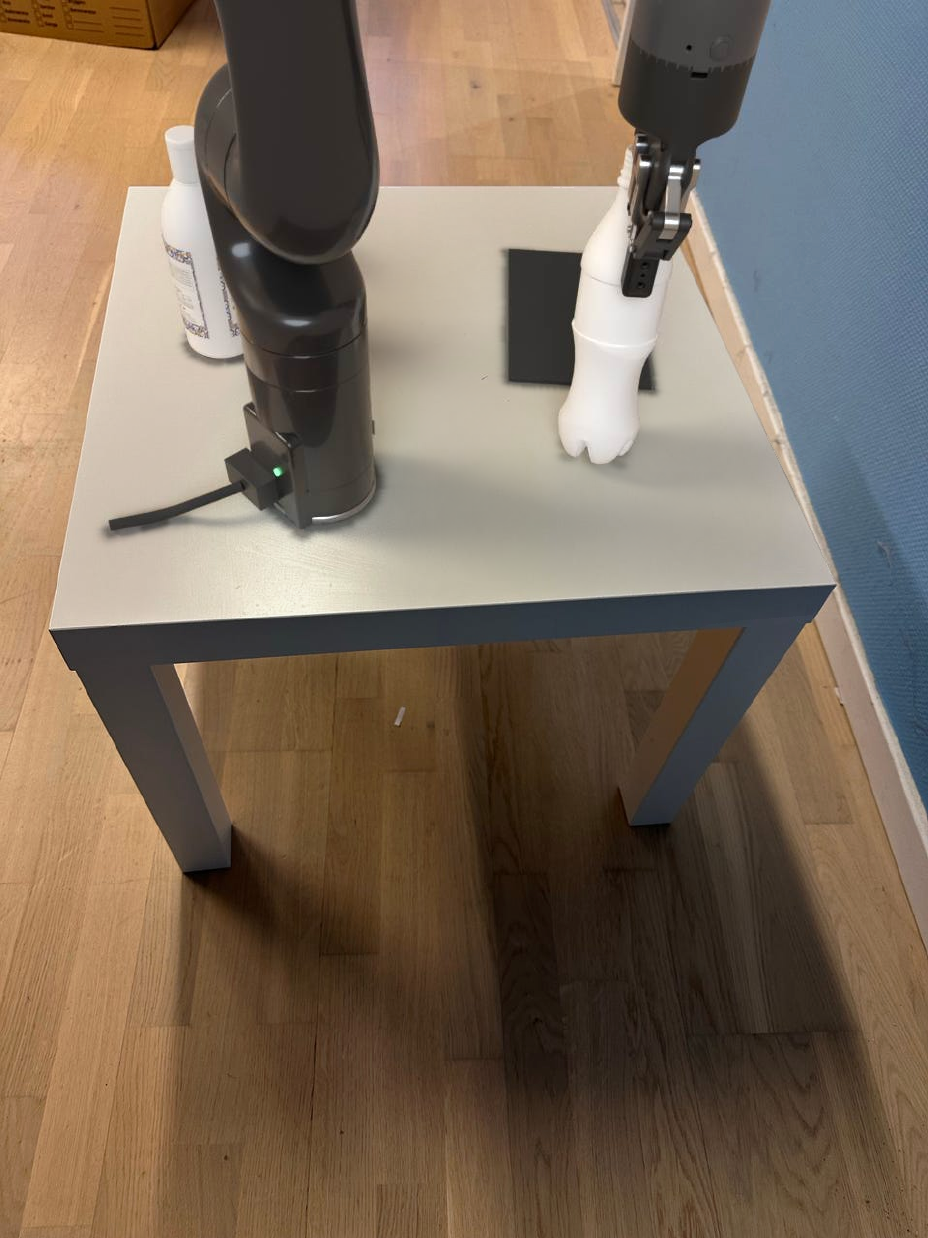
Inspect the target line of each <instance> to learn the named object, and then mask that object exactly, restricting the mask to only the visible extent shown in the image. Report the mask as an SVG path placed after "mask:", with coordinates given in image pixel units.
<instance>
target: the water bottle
mask: <svg viewBox="0 0 928 1238" xmlns="http://www.w3.org/2000/svg"><path fill="white" fill-rule="evenodd" d="M632 149H633V144H630V145H627V147H626V150H625V154H624V160H623V167H622V168H621V170H620V174H621V175H619V176H618V177H617V180H616V183H617V185H618V186H619V187H618V190H617V194H616V197H615V198H614V201H613V203H612V205H611V206H610V208H609V209H608V211H607V212H606V214H605V215H604V217H603V218H602V219H601V221H600V222H599V223H598V225H597V226H596V228H595V230H593V233H592V234H591V236H590V237H589V239H588V241H587V243H586V245H585V247H584V249H583V251H582V253H583V255H582V259H581V275H580V282H579V289H578V296H577V303H576V310H575V317H574V319H573V321H572V327H573V333H574V341H575V369H574V376H573V380H572V385H570V389H569V391H568V394H567V397H566V400H565V401H564V403H563V405H562V406H561V408H560V410H559V412H558V417H557V423H558V426H557V427H558V435H559V438H560V443H561V445H562V447H563V449H564V450H565V452H566V453H567V454H568V455H569V456H571V457H573V458H577V457H579V456H580V455H581V454H582V453H583V452H584V451H585V449H587V451H588V452H587V453H588V456H589V459H590V462H591V463H592V464H595V465H607V464H610V463H611V462H613V460H615V459H616V458H617V456H618V457H619V456H624V455H625V454H626V453H627V452H628V451H629V450H630V449H631V448H632V446H633V444H634V442H635V440H636V438H637V435H638V433H639V429H640V424H641V422H640V416H639V415H640V414H639V405H638V403H639V401H638V395H639V389H638V385H639V378H640V374H641V370H642V367H643V365H644V362H645V360H646V358H647V357H648V358H649V355H650V354H651V352H652V351H653V350H654V348H655V347H656V345H657V343H658V340H659V336H660V331H659V329H660V323H661V319H662V315H663V311H664V310H663V309H664V305H665V301H666V296H667V292H668V288H669V287H668V285H669V282H670V279H671V278H672V275H673V267H674V266H673V265H674V263H673V262H674V259H673V258H674V256H673V257H672V258H671V259H670V261H662V260H660V262H659V266H658V270H657V274H656V278H655V282H654V286H653V290H652V294H651V295H650V296H649V297H647V298H635V297H625V296H624V295H623V294H622V288H621V275H622V271H623V266H624V261H625V257H626V252H627V247H628V243H629V238H628V233H627V226H628V225H629V222H630V217H631V216H628V210H627V204H628V203H629V199H628V190H629V185H630V180H631V175H632V165H633V156H632Z"/></svg>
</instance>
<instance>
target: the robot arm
mask: <svg viewBox="0 0 928 1238" xmlns="http://www.w3.org/2000/svg"><path fill="white" fill-rule="evenodd" d="M213 3H214V5H215V10H216V13H217V18H218V21H219V25H220V29H221V34H222V39H223V44H224V50H225V54H226V62H225V63H224V64H223V65H221V66H220V67H219V68H218V69H217V70H216V71H215V72H214V73H213V75H211V77H210V79H209V80H208V81H207V83H206V84H205V87H204V89H203V90H202V93H201V95H200V96H199V100H198V103H197V106H196V111H195V116H194V122H193V127H194V149H195V157H196V163H197V169H198V175H199V180H200V184H201V189H202V194H203V198H204V203H205V207H206V212H207V216H208V221H209V225H210V229H211V234H212V238H213V243H214V247H215V252H216V256H217V260H218V264H219V267H220V270H221V273H222V276H223V279H224V281H225V284H226V286H227V289H228V291H229V293H230V296H231V299H232V301H233V304H234V308H235V312H236V317H237V322H238V327H239V333H240V338H241V343H242V349H243V354H242V355H243V360H244V365H245V371H246V376H247V382H248V387H249V393H250V397H251V401H249V402H247V403H245V404H244V405H243V406H242V412H243V417H244V423H245V429H246V432H247V437H248V442H249V448H250V449H249V448H248V447H247V446H245V447H244V448H242V449H241V450H239V451H237V452H235V453H233V454H231V455H230V456H228V457H226V458H224V460H223V461H224V465H225V470H226V473H227V478H228V482H229V483H230V484H228V485H224V486H222V487H220V488H216V489H215V490H211V491H209V492H207V493H204V494H201V495H198V496H196V497H193V498H191V499H188V500H185V501H182V502H180V503H177V504H174V505H172V506H167V507H164V508H161V509H156V510H153V511H148V512H142V513H139V514H138V513H137V514H133V515H128V516H122V517H118V518H113V519H108V526H109V528H110V531H116V530H121V529H122V530H123V529H128V528H131V527H136V526H142V525H147V524H152V523H156V522H160V521H163V520H168V519H172V518H174V517H178V516H181V515H184V514H187V513H189V512H191V511H194V510H197V509H200V508H202V507H205V506H207V505H210V504H213V503H216V502H218V501H220V500H223V499H226V498H228V497H231V496H233V495H236V494H239V493H241V494H242V495H243V497H245V498H246V499H247V500H248V501H249V502H251V504H252V505H253V506H255V508H257V509H258V511H260V512H262V511H264V510H265V509H267V508H269V507H271V506H272V505H273V506H274V507H275V508H276V509H277V510H278V511H279V512H281V513H282V514H283V515H284V516H286V517H287V518H288V519H289V520H290V521H291V522H292V523H293V524H294V525H295V526H296V527H297V528H298V529H300V530H303V529H306V528H308V527H309V526H311V525H316V524H317V525H318V524H319V525H323V524H332V523H337V522H340V521H341V522H342V521H344V520H346V519H349V518H351V517H353V516H355V515H356V514H359V512H362V510H363V509H365V507H367V505H369V503H370V502H371V501H372V498H373V497H374V495H375V492H376V487H377V474H376V473H377V472H376V468H375V452H374V451H375V450H374V436H375V435H376V427H375V420H373V412H372V391H371V390H372V388H371V368H370V365H371V364H370V346H369V345H370V342H369V321H368V319H369V318H368V299H367V297H368V295H367V288H366V282H365V279H364V275H363V273H362V271H361V268H360V265H359V264H358V261H357V259H356V257H355V255H354V252H353V248H354V247H355V246H356V244H358V242H359V241H360V240H361V239H362V237H363V235H364V234H365V232H366V230H367V228H368V227H369V226H370V225H369V224H370V223H371V220H372V218H373V215H374V213H375V209H376V206H377V202H378V197H379V193H380V183H381V163H380V151H379V144H378V138H377V131H376V125H375V119H374V113H373V106H372V102H371V95H370V90H369V89H370V88H369V82H368V76H367V70H366V63H365V56H364V51H363V44H362V37H361V28H360V22H359V15H358V6H357V0H213ZM771 4H772V0H634V6H633V12H632V17H631V23H630V29H629V33H628V34H629V35H628V40H627V45H626V51H625V55H624V63H623V68H622V74H621V79H620V84H619V89H618V96H617V107H618V110H619V112H620V115H621V116H622V117H623V119H624V120H625V121H626V122H627V124H629V125H630V126H632V128H634V135H633V136H634V140H633V144H632V145H633V149H632V156H633V165H632V175H631V180H630V185H629V190H628V199H629V203H628V204H627V210H628V216H631V217H630V222H629V225H628V226H627V233H628V238H629V243H628V247H627V252H626V257H625V261H624V266H623V271H622V275H621V288H622V294H623V295H624V296H625V297H635V298H647V297H649V296H650V295H651V294H652V290H653V286H654V282H655V278H656V274H657V270H658V266H659V262H660V260H662V261H670V259H671V258H672V257H673V258H674V255H675V253H676V252H677V251H678V249H679V248H680V247H681V245H682V244H683V242H684V241H685V240H686V238H687V237H688V236H689V233H690V231H691V229H692V227H693V221H694V220H693V216H692V213H690V212H686V208H687V204H688V202H689V198H690V194H691V191H692V190H693V189H695V188H696V187H697V183H698V180H699V176H700V173H701V170H702V169H701V168H702V158H701V157H697V150H698V147H700V146H701V145H702V144H704V143H705V142H708V141H710V140H713V139H717V138H718V139H719V138H720V137H721V136H723V135H725V134H727V133H728V132H729V131H731V129H733V127H734V126H735V124H736V123H737V121H738V119H739V115H740V112H741V109H742V105H743V101H744V99H745V94H746V91H747V88H748V84H749V80H750V77H751V73H752V70H753V66H754V63H755V60H756V56H757V52H758V49H759V45H760V42H761V39H762V35H763V31H764V28H765V25H766V21H767V17H768V14H769V11H770V7H771Z"/></svg>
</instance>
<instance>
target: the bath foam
mask: <svg viewBox="0 0 928 1238" xmlns="http://www.w3.org/2000/svg"><path fill="white" fill-rule="evenodd" d="M164 140H165V141H164V142H165V145H166V150H167V151H166V152H167V154H168V159H169V163H170V168H171V172H172V176H173V178H172V180H171V182H170V183H169V186H168V189H167V191H166V193H165V195H164V199H163V202H162V205H161V211H160V228H161V236H162V241H163V244H164V250H165V253H166V257H167V262H168V265H169V269H170V273H171V277H172V282H173V286H174V289H175V293H176V298H177V302H178V306H179V311H180V315H181V318H182V323H183V325H184V330H185V334H186V338H187V341H188V343H189V345H190V347H191V348H192V349H193V350H194V351H195V352H196V353H198V354H200V355H202V356H204V357H208V358H212V359H230V358H235V357H238V356H241V355H244V354H243V349H242V343H241V338H240V333H239V327H238V322H237V317H236V312H235V308H234V304H233V301H232V299H231V296H230V293H229V291H228V289H227V286H226V284H225V281H224V279H223V276H222V273H221V270H220V267H219V264H218V260H217V256H216V252H215V247H214V243H213V238H212V234H211V229H210V225H209V221H208V216H207V212H206V207H205V203H204V198H203V194H202V189H201V184H200V180H199V175H198V169H197V163H196V157H195V149H194V126H192V125H187V124H186V125H185V124H184V125H176V126H175V125H174V126H172V127H170V128H169V129H167V130H166V131H165V133H164Z"/></svg>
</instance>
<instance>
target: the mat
mask: <svg viewBox="0 0 928 1238" xmlns="http://www.w3.org/2000/svg"><path fill="white" fill-rule="evenodd" d="M582 255H583V252H568V251H552V250H536V249H521V248H508V382H516V383H517V382H518V383H531V384H533V383H534V384H550V385H567V386H568V385H569V386H571V385H572V380H573V376H574V369H575V341H574V333H573V327H572V321H573V319H574V317H575V310H576V303H577V296H578V289H579V282H580V275H581V259H582ZM652 388H653V385H652V378H651V370H650V364H649V356H648V357H647V358H646V360H645V362H644V365H643V367H642V370H641V374H640V378H639V385H638V390H652Z"/></svg>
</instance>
